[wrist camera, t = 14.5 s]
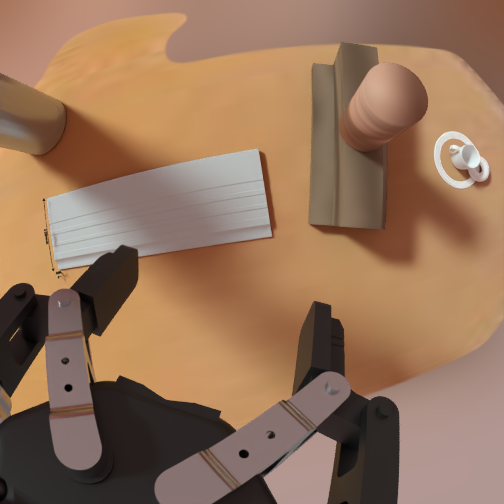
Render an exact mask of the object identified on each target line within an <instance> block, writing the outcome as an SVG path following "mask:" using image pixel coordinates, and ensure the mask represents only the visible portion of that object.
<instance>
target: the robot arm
mask: <svg viewBox="0 0 504 504" xmlns="http://www.w3.org/2000/svg"><path fill="white" fill-rule="evenodd" d="M65 124H66V111H65V108H64V106H63V104H62V103H61V102H60V101H59V100H57V99H55V98H53V97H50V96H48V95H46V94H44V93H42V92H40V91H38V90H36V89H34V88H32V87H30V86H28V85H26V84H23V83H21V82H19V81H17V80H15V79H13V78H10V77H8V76H6V75H4V74H2V73H0V147H2V148H7V149H11V150H16V151H20V152H25V153H29V154H34V155H43V154H45V153H47V152H49V151H50V150H51V149H52V148H53V147H54V146H55V145H56V144H57V143H58V141H59V140H60V138H61V136H62V134H63V131H64V128H65ZM137 281H138V250H137V249H135V248H132V247H129V246H126V245H120V246H119V247H118V248H117V249H116V250H115V251H114V253H111V252H108V253H106V254H104V255H102V256H100V257H99V258H98V259H97V260H96V261H95V262H94V263H93V265H91V266H90V267H89V268H88V270H87V271H86V272H85V273H84V274H83V275H82V276H81V277H80V278H79V279H78V280H77V281H76V282H75V283H74V285H73V286H72V287H71V288H70V289H60V290H58V291H56V292H54V293H53V294H52V295H51V296H46V295H38V294H35V291H34V288H33V287H32V286H31V285H30V284H27V283H19V284H16V285H14V286H13V287H11V288H10V289H9V290H8V291H7V293H6V294H5V295H4V296H3V297H2V298H1V299H0V504H277V502H276V500H275V499H274V497H273V495H272V493H271V491H270V490H269V488H268V486H267V484H266V482H265V480H264V479H263V478H264V477H265V476H266V475H268V474H269V473H270V472H272V471H273V470H274V469H275V468H277V467H278V466H279V465H280V464H281V463H283V462H284V461H285V460H286V459H287V458H288V457H289V456H290V455H292V454H293V453H294V452H295V451H296V450H298V449H299V448H300V447H301V446H302V445H303V444H305V443H306V442H307V441H308V440H309V439H310V438H311V437H313V435H315V434H316V433H317V432H319V433H321V434H323V435H325V436H327V437H329V438H331V439H333V440H336V441H337V444H336V453H335V460H334V466H333V473H332V479H331V486H330V492H329V498H328V503H327V504H397V498H398V482H399V411H398V408H397V406H396V405H395V404H394V402H392V401H391V400H390V399H388V398H386V397H382V396H378V397H374V398H373V399H371V400H368V399H366V398H364V397H362V396H360V395H358V394H356V393H355V392H353V391H352V390H351V388H350V384H349V382H348V381H347V379H346V378H345V365H344V329H343V327H342V324H341V322H340V320H339V319H335V318H331V305H328V304H324V303H321V302H317V301H314V302H313V304H312V306H311V308H310V311H309V313H308V315H307V317H306V320H305V322H304V324H303V326H302V329H301V333H300V337H299V345H298V354H297V362H296V370H295V377H294V385H293V392H292V397H291V398H290V399H288V400H287V401H284V400H282V401H280V402H278V403H277V404H275V405H274V406H272V407H271V408H270V409H268V410H267V411H265V412H264V413H263V414H261V415H260V416H258V417H257V418H255V419H254V420H252V421H251V422H249V423H248V424H247V425H245V426H244V427H242V428H241V429H239V430H238V431H236V430H235V429H234V428H233V427H232V426H231V425H230V424H228V423H227V422H226V421H224V420H222V419H221V418H219V417H220V413H221V411H219V410H216V409H212V408H209V407H206V406H203V405H199V404H196V403H189V402H179V401H171V400H166V399H164V398H162V397H161V396H159V395H158V394H156V393H155V392H153V391H152V390H150V389H149V388H147V387H146V386H144V385H142V384H140V383H137V382H135V381H132V380H130V379H127V378H125V377H123V376H120V375H119V377H118V379H117V381H116V382H115V381H100V382H96V378H95V373H94V368H93V362H92V356H91V350H90V343H89V337H90V335H91V334H92V333H93V334H95V335H98V336H101V335H102V333H103V332H104V331H105V329H106V328H107V326H108V325H109V323H110V322H111V320H112V319H113V318H114V316H115V315H116V313H117V312H118V311H119V309H120V308H121V306H122V305H123V304H124V302H125V301H126V299H127V298H128V297H129V295H130V294H131V293H132V291H133V290H134V288H135V287H136V284H137ZM18 328H19V330H18V331H17V329H18ZM16 331H17V332H16ZM15 332H16V334H15V335H14V336H13V334H14V333H15ZM12 336H13V338H12V339H11V337H12ZM10 339H11V340H10ZM9 341H10V342H9ZM44 344H45V350H46V369H47V383H48V393H49V401H47V402H45V403H42V404H40V405H37V406H35V407H32V408H29V409H27V410H24V411H22V412H19V413H17V414H14V415H12V416H11V413H10V411H11V408H12V403H11V399H10V398H11V396H12V394H13V393H14V391H15V389H16V388H17V386H18V384H19V383H20V381H21V379H22V378H23V376H24V375H25V373H26V372H27V370H28V368H29V367H30V365H31V364H32V362H33V361H34V359H35V358H36V356H37V355H38V353H39V352H40V350H41V349H42V347H43V346H44Z"/></svg>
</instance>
